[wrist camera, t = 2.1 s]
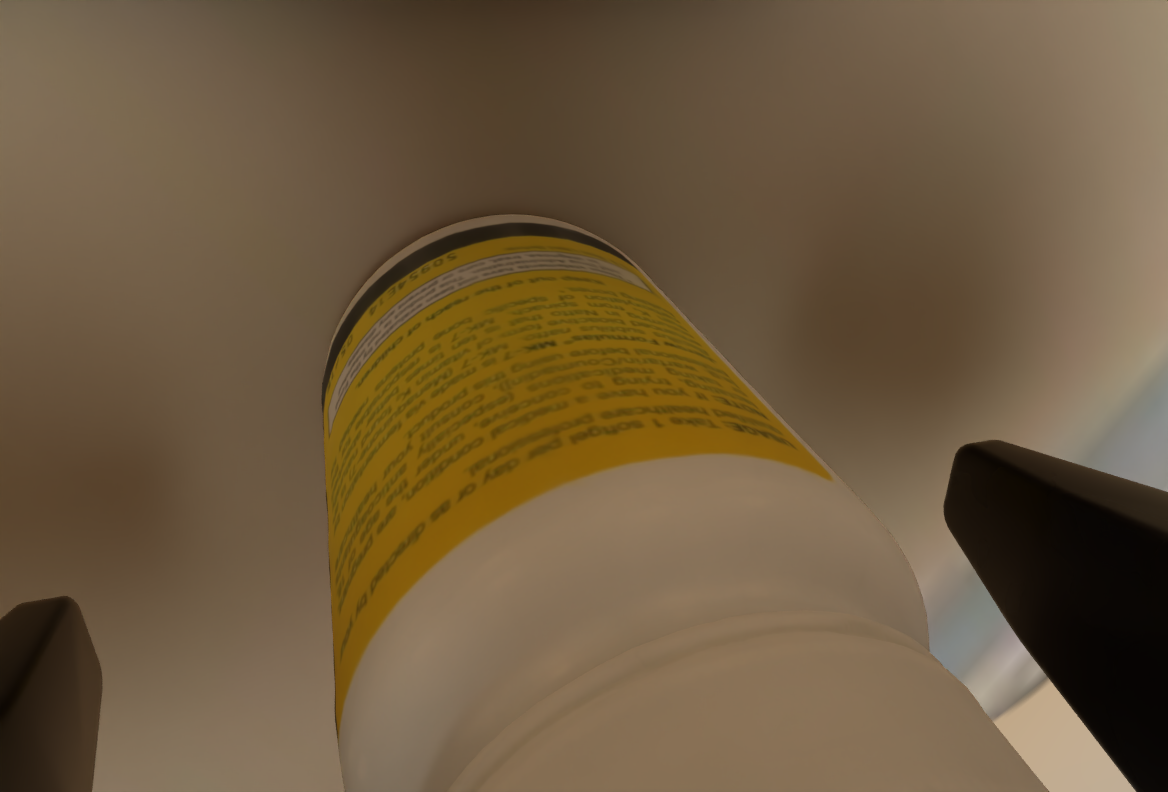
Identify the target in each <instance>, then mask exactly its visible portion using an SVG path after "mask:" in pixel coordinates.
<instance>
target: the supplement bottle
mask: <svg viewBox="0 0 1168 792" xmlns="http://www.w3.org/2000/svg"><path fill="white" fill-rule="evenodd" d="M322 412H323V430H324V453H325V477H326V501H327V511H328V533H329V536H328V548H329V571H330V588H331V609H332V628H333V652H334V675H335V722H336V730H337V738H338V748H339V756H340V763H341V771H342V778H343V784H344V789H345V792H1049V791H1048V789H1047V788H1046V787H1045V786H1044V785H1043V783H1042V782H1041V781H1040V780H1039V779H1038V777H1037V776H1036V775H1035V774H1034V773H1033V771H1032V770H1031V769H1030V767H1029V766H1028V765H1027V764H1026V763H1025V761H1024V760H1023V759H1022V758H1021V756H1020V755H1019V754H1018V753H1017V751H1016V750H1015V749H1014V748H1013V746H1011V744H1010V743H1009V742H1008V740H1007V739H1006V738H1005V737H1004V735H1003V734H1002V733H1001V732H1000V730H999V729H998V728H997V727H996V725H995V724H994V723H993V722H992V720H991V719H990V718H989V717H988V716H987V714H986V713H985V712H984V710H983V709H982V707H981V706H980V704H979V703H978V701H977V700H976V699H975V697H974V696H973V695H972V693H971V692H970V691H969V690H968V688H967V687H966V686H965V685H963V684H962V683H961V682H960V681H959V680H958V679H957V678H956V677H955V676H954V675H953V674H951V673H950V672H949V671H948V670H947V669H945V668H944V667H943V665H942V664H941V663H940V662H939V661H938V660H937V659H936V658H935V657H934V656H933V655H932V654H931V653H930V652H929V634H928V624H927V614H926V610H925V606H924V602H923V598H922V595H921V592H920V589H919V586H918V583H917V580H916V578H915V576H914V573H913V571H912V569H911V567H910V564H909V562H908V561H907V559H906V557H905V555H904V554H903V552H902V551H901V549H900V547H899V546H898V544H897V542H896V541H895V539H894V538H893V536H892V535H891V534H890V532H889V531H888V530H887V529H886V528H885V526H884V525H883V524H882V523H881V522H880V521H879V519H878V518H877V517H876V516H875V515H874V514H873V512H872V511H871V510H870V509H869V508H868V506H867V505H866V504H865V503H864V502H863V501H862V500H861V499H860V498H859V497H858V496H857V495H856V494H855V493H854V492H853V491H852V490H851V489H850V488H849V487H848V486H847V485H846V484H845V483H844V481H843V480H842V479H841V478H840V477H839V476H838V475H837V474H836V473H835V472H834V471H833V470H832V469H831V468H830V467H829V466H828V465H827V464H826V463H825V462H824V461H823V460H822V459H821V458H820V457H819V456H818V455H817V454H816V453H815V452H814V451H813V450H812V449H811V448H810V447H809V446H808V445H807V443H806V442H805V441H804V440H803V439H802V438H801V437H800V436H799V435H798V434H797V433H796V432H795V431H794V430H793V429H792V428H791V427H790V426H789V425H788V424H787V423H786V422H785V421H784V420H783V419H782V418H781V417H780V416H779V415H778V414H777V413H776V412H775V410H774V409H773V408H772V407H771V406H770V405H769V404H768V403H767V402H766V401H765V400H764V399H763V397H762V396H761V395H760V394H759V393H758V392H757V391H756V390H755V389H754V388H753V387H752V386H751V385H750V384H749V383H748V382H747V381H746V380H745V379H744V378H743V376H742V375H740V374H739V372H738V371H737V370H736V369H735V368H734V367H733V366H732V365H731V364H730V363H729V362H728V361H727V360H726V358H725V357H724V356H723V355H722V354H721V353H720V352H719V351H718V350H717V349H716V348H715V347H714V346H713V345H712V344H711V342H710V341H709V340H708V339H707V338H706V337H705V336H704V335H703V334H702V333H701V332H700V331H699V330H698V329H697V328H696V327H695V326H694V325H693V324H692V323H691V321H690V320H689V319H688V318H687V317H686V316H685V315H684V314H683V313H682V312H681V311H680V310H679V309H678V308H677V307H676V306H675V305H674V303H673V302H672V301H671V300H670V299H669V298H668V297H667V296H666V294H665V293H663V292H662V291H661V290H660V289H659V288H658V287H657V286H656V284H655V283H654V282H653V281H652V280H651V279H650V278H649V277H648V275H647V274H646V273H645V272H644V271H643V270H642V269H641V268H640V267H639V266H638V265H637V264H636V263H635V262H634V261H633V260H631V259H630V258H629V257H628V256H627V255H625V254H624V253H623V252H622V251H620V250H619V249H618V248H616V247H615V246H613V245H612V244H610V243H609V242H607V241H605V240H603V239H602V238H600V237H598V236H596V235H594V234H592V233H590V232H588V231H586V230H584V229H582V228H580V227H577V226H574V225H571V224H568V223H565V222H562V221H559V220H555V219H551V218H545V217H540V216H532V215H515V214H506V215H492V216H486V217H480V218H474V219H470V220H466V221H462V222H458V223H455V224H452V225H450V226H447V227H444V228H441V229H439V230H437V231H435V232H432V233H430V234H428V235H426V236H423V237H422V238H420V239H418V240H417V241H415V242H413V243H412V244H410V245H408V246H407V247H405V248H404V249H402V250H401V251H400V252H398V253H397V254H395V255H394V256H393V257H391V258H390V259H389V260H388V261H387V262H385V263H384V264H383V265H382V266H381V267H380V268H379V269H378V270H377V271H376V272H375V273H374V274H373V275H372V276H371V277H370V278H369V279H368V280H367V281H366V283H365V284H364V285H363V286H362V288H361V289H360V290H359V291H358V293H357V294H356V295H355V297H354V298H353V300H352V301H351V302H350V304H349V306H348V308H347V309H346V311H345V313H344V315H343V316H342V318H341V320H340V322H339V324H338V326H337V328H336V331H335V334H334V336H333V339H332V342H331V344H330V348H329V351H328V355H327V359H326V365H325V371H324V378H323V383H322Z"/></svg>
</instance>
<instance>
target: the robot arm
mask: <svg viewBox="0 0 1168 792" xmlns="http://www.w3.org/2000/svg"><path fill="white" fill-rule="evenodd" d="M944 517H945V521H946V523H947V526H948V528H949V530H950V531H951V533H952V535H953V536H954V538H955V539H956V541H957V542H958V544H959V546H960V547H961V549H962V550H963V552H964V554H965V555H966V557H967V558H968V560H969V562H970V563H971V565H972V566H973V568H974V569H975V571H976V573H977V574H978V576H979V577H980V579H981V581H982V582H983V584H984V585H985V587H986V589H987V590H988V592H989V593H990V595H991V596H992V598H993V600H994V601H995V603H996V604H997V606H998V608H999V609H1000V611H1001V612H1002V614H1003V616H1004V617H1005V619H1006V620H1007V622H1008V623H1009V625H1010V626H1011V628H1012V629H1013V631H1014V632H1015V634H1016V635H1017V637H1018V638H1019V640H1020V641H1021V642H1022V644H1023V645H1024V646H1025V648H1026V649H1027V651H1028V652H1029V653H1030V655H1031V656H1032V657H1033V659H1034V660H1035V661H1036V662H1037V664H1038V665H1039V666H1040V668H1041V669H1042V670H1043V671H1044V673H1045V674H1046V675H1047V677H1048V678H1049V679H1050V681H1051V682H1052V683H1053V684H1054V686H1055V687H1056V688H1057V690H1058V691H1059V692H1060V693H1061V695H1062V696H1063V697H1064V699H1065V700H1066V701H1067V703H1068V704H1069V705H1070V706H1071V708H1072V709H1073V710H1074V712H1075V713H1076V714H1077V715H1078V717H1079V718H1080V719H1081V721H1082V722H1083V723H1084V725H1085V726H1086V727H1087V728H1088V730H1089V731H1090V732H1091V734H1092V735H1093V736H1094V737H1095V739H1096V740H1097V741H1098V742H1099V744H1100V745H1101V747H1102V748H1103V749H1104V751H1105V752H1106V753H1107V754H1108V756H1109V757H1110V758H1111V760H1112V761H1113V762H1114V763H1115V765H1116V766H1117V767H1118V769H1119V770H1120V771H1121V773H1122V774H1123V775H1124V776H1125V778H1126V779H1127V780H1128V782H1129V783H1130V784H1131V785H1132V787H1133V788H1134V789H1135V791H1136V792H1168V492H1166V491H1163V490H1159V489H1156V488H1153V487H1150V486H1146V485H1143V484H1140V483H1137V482H1133V481H1130V480H1127V479H1124V478H1120V477H1117V476H1114V475H1111V474H1107V473H1104V472H1101V471H1098V470H1094V469H1091V468H1088V467H1085V466H1081V465H1078V464H1075V463H1072V462H1068V461H1065V460H1062V459H1059V458H1055V457H1052V456H1049V455H1046V454H1042V453H1039V452H1036V451H1033V450H1029V449H1026V448H1023V447H1020V446H1016V445H1013V444H1010V443H1007V442H1003V441H999V440H988V441H982V442H976V443H970V444H966V445H964V446H962V447H960V449H959V450H958V451H957V453H956V455H955V457H954V461H953V466H952V470H951V474H950V479H949V483H948V488H947V492H946V496H945V501H944ZM101 699H102V672H101V667H100V663H99V660H98V657H97V654H96V652H95V649H94V646H93V643H92V640H91V638H90V635H89V632H88V629H87V627H86V624H85V621H84V618H83V616H82V613H81V610H80V608H79V606H78V604H77V603H76V602H75V600H74V599H72V598H70V597H68V596H60V597H54V598H48V599H42V600H36V601H30V602H25V603H22V604H19V605H17V606H16V607H15V608H13V609H12V610H11V611H9V612H8V613H7V614H6V615H5V616H4V617H2V618H1V619H0V792H92V788H93V778H94V768H95V758H96V748H97V738H98V728H99V718H100V708H101Z"/></svg>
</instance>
